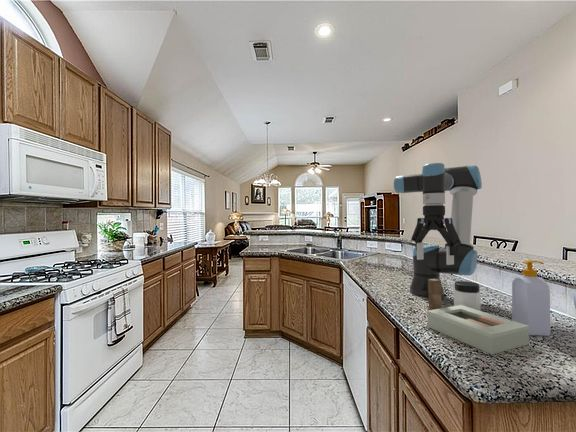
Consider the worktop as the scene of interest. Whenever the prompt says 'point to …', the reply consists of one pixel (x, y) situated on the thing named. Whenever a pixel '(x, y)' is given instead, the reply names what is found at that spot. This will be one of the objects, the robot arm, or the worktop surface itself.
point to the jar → (467, 295)
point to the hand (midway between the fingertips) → (434, 261)
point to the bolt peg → (434, 294)
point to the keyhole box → (479, 328)
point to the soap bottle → (531, 301)
